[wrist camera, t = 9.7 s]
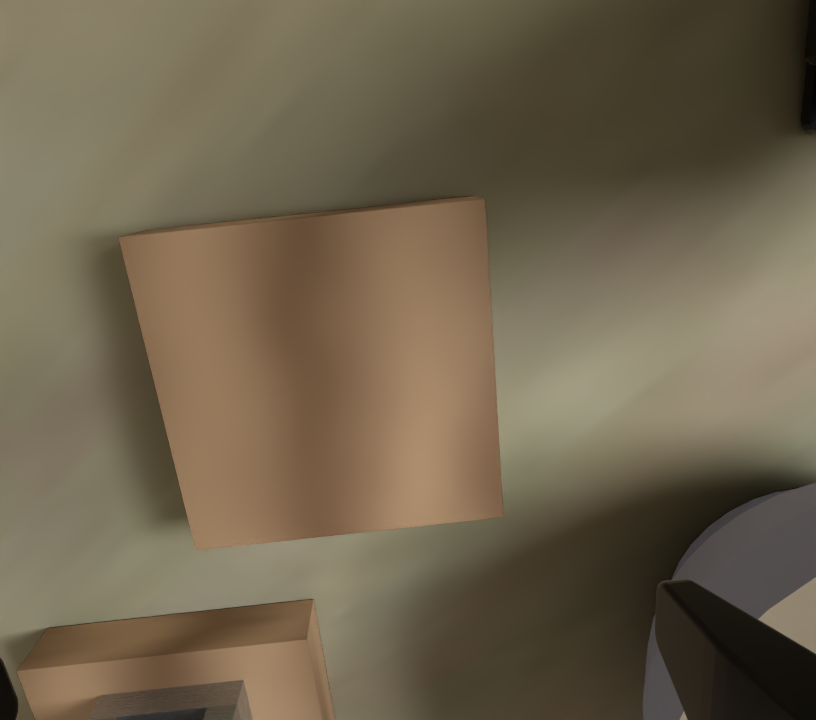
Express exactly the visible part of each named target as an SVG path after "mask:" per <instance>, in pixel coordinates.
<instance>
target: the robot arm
mask: <svg viewBox="0 0 816 720" xmlns="http://www.w3.org/2000/svg"><path fill="white" fill-rule="evenodd" d="M805 57H806V59H807V62H806V72H805V82H804V93H803V103H802V113H801V125H802V127H803V129H804V130H805V131H806V132H808V133H809V134H816V0H810V8H809V18H808V28H807V38H806V49H805ZM655 637H656V642H657V645H658V648H659V651H660V653H661V656H662V658H663V661H664V663H665V666H666V668H667V671H668V673H669V676H670V678H671V680H672V683H673V685H674V688H675V690H676V693H677V695H678V698H679V700H680V702H681V705H682V707H683V710H684V712H685V715H686V717H687V720H816V653H814V652H812V651H811V650H809V649H807V648H805V647H804V646H802V645H800V644H799V643H797V642H795V641H794V640H792V639H790V638H789V637H787V636H785V635H784V634H782V633H780V632H779V631H777V630H775V629H773V628H772V627H770V626H768V625H767V624H765V623H763V622H762V621H760V620H758V619H757V618H755V617H753V616H752V615H750V614H748V613H746V612H745V611H743V610H741V609H740V608H738V607H736V606H735V605H733V604H731V603H730V602H728V601H726V600H725V599H723V598H721V597H719V596H718V595H716V594H714V593H713V592H711V591H709V590H708V589H706V588H704V587H703V586H701V585H699V584H698V583H696V582H694V581H692V580H690V579H677V580H667V581H662V582H660V583H659V584H658V586H657V589H656V607H655ZM17 713H18V699H17V695H16V693H15V690H14V688H13V685H12V683H11V680H10V677H9V675H8V672H7V670H6V667H5V665H4V662H3V660H2V659H1V658H0V720H16V717H17Z"/></svg>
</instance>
